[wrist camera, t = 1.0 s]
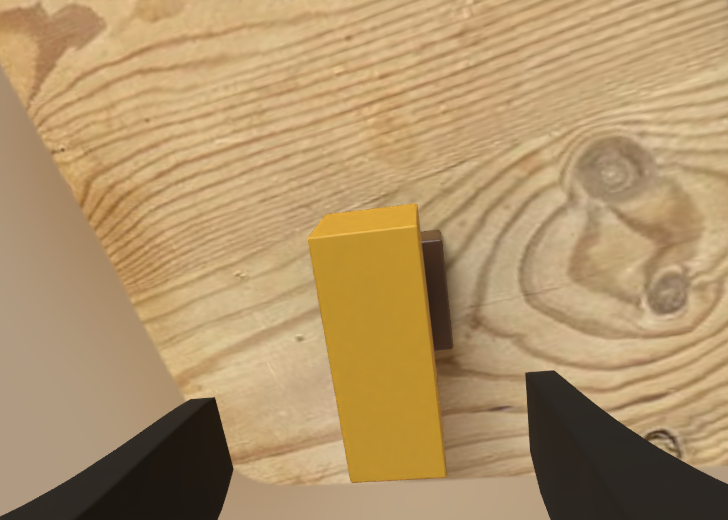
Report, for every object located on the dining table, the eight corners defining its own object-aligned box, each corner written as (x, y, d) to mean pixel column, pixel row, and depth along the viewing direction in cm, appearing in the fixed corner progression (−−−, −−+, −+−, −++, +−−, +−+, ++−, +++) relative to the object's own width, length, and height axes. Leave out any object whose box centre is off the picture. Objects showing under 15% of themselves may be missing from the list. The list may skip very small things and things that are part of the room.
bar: (442, 421, 19) (446, 478, 16) (359, 427, 20) (350, 483, 17) (417, 202, 17) (417, 224, 14) (324, 214, 17) (306, 237, 15)
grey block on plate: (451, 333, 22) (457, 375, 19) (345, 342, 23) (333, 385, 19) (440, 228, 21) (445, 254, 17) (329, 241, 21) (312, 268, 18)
